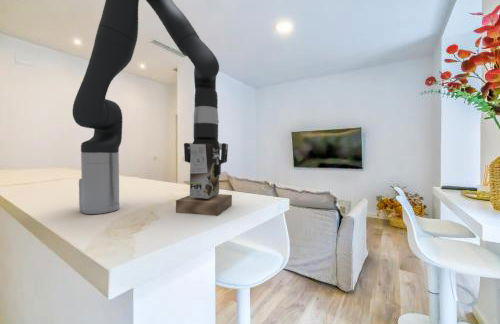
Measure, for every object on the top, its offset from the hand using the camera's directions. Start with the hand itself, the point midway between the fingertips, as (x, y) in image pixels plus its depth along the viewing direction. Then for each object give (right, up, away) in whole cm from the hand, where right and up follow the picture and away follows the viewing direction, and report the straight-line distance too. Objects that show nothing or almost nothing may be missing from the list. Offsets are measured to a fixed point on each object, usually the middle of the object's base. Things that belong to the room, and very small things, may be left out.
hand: (205, 176), depth 69 cm
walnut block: (0, -11, 0) cm, 11 cm away
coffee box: (0, -6, 0) cm, 6 cm away
